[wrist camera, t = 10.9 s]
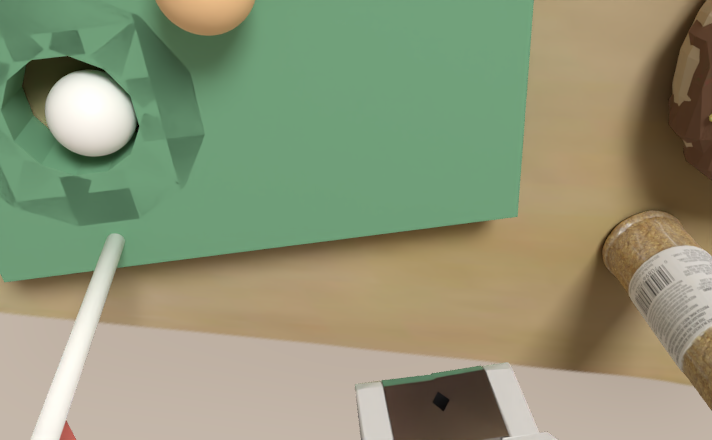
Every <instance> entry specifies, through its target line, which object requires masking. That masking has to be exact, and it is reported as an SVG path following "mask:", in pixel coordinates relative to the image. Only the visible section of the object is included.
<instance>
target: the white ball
mask: <svg viewBox="0 0 712 440" xmlns="http://www.w3.org/2000/svg"><path fill="white" fill-rule="evenodd" d="M45 117H46V122H47V125H48V127H49V129H50V131H51V133H52V134H53V136H54V137H55V138H56V140H57V141H58V142H59V143H60V144H61V145H63V146H64V147H66V148H67V149H69V150H70V151H72V152H75V153H77V154H80V155H84V156H91V157H94V156H104V155H108V154H111V153H114V152H116V151H117V150H119V149H121V148H122V147H123V146H124V145H126V144H127V142H128V141H129V140H130V139H131V137H132V136H133V134H134V132H135V129H136V126H137V121H138V120H137V117H136V113H135V110H134V107H133V103H132V100H131V96H130V95H129V94H128V93H127V92H126V91H125V90H124V89H123V88H122V87H121V86H120V85H119V84H118V83H117V82H116V81H115V80H114V79H113V78H112V77H111V76H110V75H109V74H108V73H105V72H102V71H98V70H79V71H75V72H72V73H70V74H67V75H66V76H64V77H62V78H61V79H60V80H59V81H57V82H56V84H55V85H54V86H53V87H52V89H51V90H50V92H49V94H48V96H47V100H46V104H45Z"/></svg>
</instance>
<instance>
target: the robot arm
mask: <svg viewBox="0 0 712 440" xmlns="http://www.w3.org/2000/svg"><path fill="white" fill-rule="evenodd" d="M355 391H356V400H357V407H358V418H359V426H360V435H361V440H558V439H557V438H555V437H554V436H553V435H552V434H550V433H549V432H548V431H547V432H539V429H538V427H537V425H536V422H535V420H534V418H533V415H532V413H531V411H530V408H529V406H528V404H527V401H526V399H525V397H524V395H523V392H522V390H521V387H520V385H519V383H518V380H517V378H516V376H515V373H514V371H513V369H512V366H511V365H510V364H509V363H508V362H507V363H500V364H493V365H486V366H482V367H481V366H476V367H470V368H464V369H458V370H452V371H446V372H439V373H432V374H431V375H424V376H415V377H407V378H399V379H390V380H382V381H375V382H368V383H360V384H355Z"/></svg>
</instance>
